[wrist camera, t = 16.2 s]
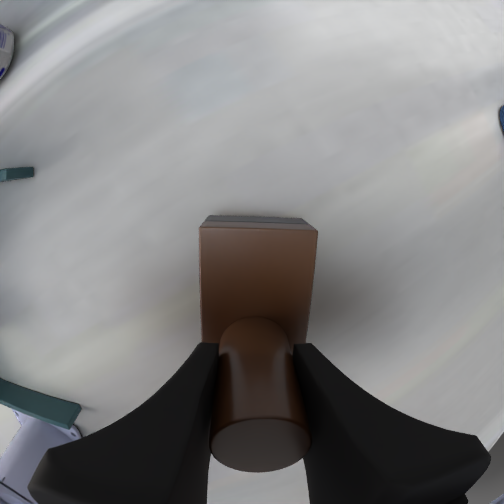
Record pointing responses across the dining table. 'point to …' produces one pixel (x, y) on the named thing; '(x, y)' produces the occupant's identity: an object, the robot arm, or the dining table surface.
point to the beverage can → (5, 48)
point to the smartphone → (502, 116)
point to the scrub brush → (257, 336)
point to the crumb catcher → (24, 398)
